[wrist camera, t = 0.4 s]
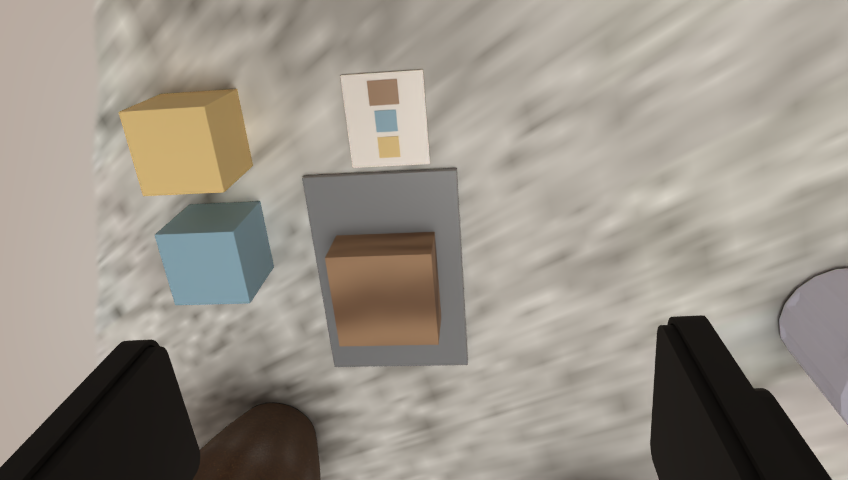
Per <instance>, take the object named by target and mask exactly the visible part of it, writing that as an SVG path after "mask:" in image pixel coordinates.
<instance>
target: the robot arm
mask: <svg viewBox="0 0 848 480" xmlns="http://www.w3.org/2000/svg"><path fill="white" fill-rule="evenodd" d="M650 446H651V455H652V460H653V463H654V466H655V469H656V472H657V475H658V478H659V480H832V479H831V478H830V476H829V475H828V473H827V472H826V470H825V469H824V467H823V466H822V465H821V463H820V462H819V460H818V459H817V457H816V456H815V455H814V453H813V452H812V450H811V449H810V447H809V446H808V445H807V443H806V442H805V440H804V439H803V437H802V436H801V435H800V433H799V432H798V430H797V429H796V427H795V426H794V425H793V423H792V422H791V420H790V419H789V417H788V416H787V415H786V413H785V412H784V410H783V409H782V407H781V406H780V404H779V403H778V402H777V400H776V399H775V397H774V396H773V395H772V394H771V393H770V392H769V391H768V390H766V389H764V388H756V389H754V388H753V387H752V385H751V384H750V382H749V381H748V379H747V378H746V376H745V375H744V373H743V372H742V370H741V369H740V367H739V366H738V364H737V363H736V361H735V360H734V358H733V357H732V355H731V354H730V352H729V351H728V349H727V348H726V346H725V345H724V343H723V342H722V340H721V339H720V337H719V336H718V334H717V333H716V331H715V330H714V328H713V327H712V325H711V324H710V322H709V320H708V319H707V318H706V317H705V316H680V317H670V318H669V321H668V325H660V326H659V327H658V330H657V342H656V359H655V375H654V391H653V407H652V423H651V439H650ZM199 465H200V450H199V447H198V444H197V441H196V438H195V435H194V432H193V429H192V425H191V422H190V419H189V416H188V413H187V410H186V407H185V404H184V401H183V398H182V395H181V392H180V389H179V385H178V382H177V379H176V376H175V373H174V370H173V367H172V364H171V361H170V358H169V355H168V352H167V350H166V349H165V348H164V347H160V346H159V344H158V343H157V342H156V341H154V340H133V341H123V342H121V343H120V344H119V345H118V346H117V347H116V348H115V349H114V350H113V351H112V352H111V353H110V354H109V355H108V356H107V357H106V358H105V359H104V360H103V361H102V362H101V363H100V364H99V365H98V366H97V368H96V369H95V370H94V371H93V372H92V373H91V374H90V375H89V376H88V377H87V378H86V379H85V380H84V381H83V382H82V383H81V384H80V385H79V386H78V387H77V388H76V389H75V390H74V392H73V393H72V394H71V395H70V396H69V397H68V398H67V399H66V400H65V401H64V402H63V403H62V404H61V405H60V406H59V407H58V408H57V409H56V410H55V411H54V412H53V413H52V414H51V415H50V417H48V418H47V419H46V420H45V422H44V423H43V424H42V425H41V426H40V427H39V428H38V429H37V430H36V431H35V432H34V433H33V434H32V435H31V436H30V437H29V438H28V439H27V440H26V441H25V442H24V443H23V444H22V446H20V447H19V449H18V450H17V451H16V452H15V453H14V454H13V455H12V456H11V457H10V458H9V459H8V460H7V461H6V462H5V463H4V464H3V465H2V466H1V467H0V480H193V478H194V477H195V475H196V473H197V471H198V469H199Z"/></svg>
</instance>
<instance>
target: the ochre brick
mask: <svg viewBox="0 0 848 480" xmlns="http://www.w3.org/2000/svg"><path fill="white" fill-rule="evenodd" d="M119 115H120V119H121V122H122V126H123V129H124V132H125V136H126V139H127V143H128V146H129V149H130V153H131V156H132V160H133V163H134V166H135V170H136V173H137V177H138V180H139V183H140V187H141V190H142V194H143V196H156V195H177V194H198V193H220V192H225V191H226V190H227V189H228V188H229V187H230V186H232V185H233V184H234V183H235V182H236V181H237V180H238V179H239V178H240V177H241V176H242V175H243V174H245V173H246V172H247V171H248V170H249V169H250V168H251V167H252V166H253V164H252V159H251V154H250V149H249V144H248V140H247V135H246V130H245V125H244V120H243V115H242V111H241V106H240V101H239V96H238V91H237V89H227V90H212V91H197V92H182V93H167V94H159V95H157V96H155V97H152V98H150V99H148V100H145V101H143V102H141V103H138V104H136V105H134V106H131V107H129V108H127V109H124V110H122V111H120V112H119Z"/></svg>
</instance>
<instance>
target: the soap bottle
mask: <svg viewBox="0 0 848 480" xmlns="http://www.w3.org/2000/svg"><path fill="white" fill-rule="evenodd" d="M779 324H780V335H781V339H782V341H783V342H784V344H785V345H786V347H787V348H788V350H789V351H790V353H791V354H792V355H793V357H794V358H795V359H796V360H797V362H798V363H799V364H800V365H801V367H802V368H803V369H804V370H805V372H806V373H807V374H808V376H809V377H810V378H811V379H812V381H813V382H814V383H815V384H816V386H817V387H818V388H819V389H820V391H821V392H822V393H823V395H824V396H825V397H826V398H827V400H828V401H829V402H830V403H831V405H832V406H833V407H834V409H835V410H836V411H837V412H838V414H839V415H840V416H841V417H842V419H843V420H844V421H845V422H846V424H847V425H848V268H845V269H835V270H832V271H829V272H826V273H823V274H821V275H818V276H815V277H813V278H812V279H811V280H809V281H808V282H806V283H805V284H803V285H802V286H800V287H799V288H797V289H796V291H795V292H794V293H793V294H792V296H791V297H790V298H789V299H788V301H787V302H786V303H785V305H784V308H783V311H782V313H781V316H780V319H779Z"/></svg>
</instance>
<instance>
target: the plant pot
mask: <svg viewBox="0 0 848 480" xmlns="http://www.w3.org/2000/svg"><path fill="white" fill-rule="evenodd" d="M193 480H320V465H319V455H318V447H317V439H316V434H315V430H314V427H313V425H312V423H311V422H310V420H309V419H308V418H307V417H306V416H305V415H304V414H303V413H301V412H300V411H298V410H297V409H295V408H293V407H290V406H288V405H285V404H280V403H265V404H260V405H258V406H255V407H254V408H252V409H250V410H249V411H248V412H246V413H245V414H243V415H242V416H240V417H239V418H238V419H236V420H235V421H234V422H232V423H231V424H230V425H228V426H227V427H226V428H225V429H223V430H222V431H221V432H220V433H219V434H217V435H216V436H215V437H214V438H213V439H212V440H210V441H209V442H208V443H207V444H206V445H205V446H204V447H203V448H202V449H201V450H200V465H199V469H198V471H197V473H196V475H195V477H194V478H193Z"/></svg>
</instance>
